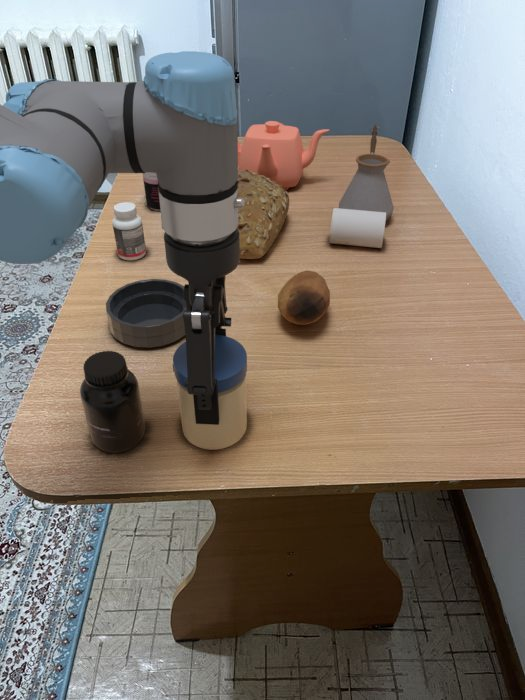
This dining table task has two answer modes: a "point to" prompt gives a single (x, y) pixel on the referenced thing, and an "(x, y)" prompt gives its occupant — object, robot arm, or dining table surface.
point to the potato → (304, 298)
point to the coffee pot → (369, 183)
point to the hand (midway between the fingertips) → (212, 394)
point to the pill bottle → (128, 232)
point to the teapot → (277, 152)
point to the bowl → (147, 313)
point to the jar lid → (217, 363)
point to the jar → (229, 418)
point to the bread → (259, 213)
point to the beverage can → (151, 190)
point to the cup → (357, 227)
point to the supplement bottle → (112, 402)
